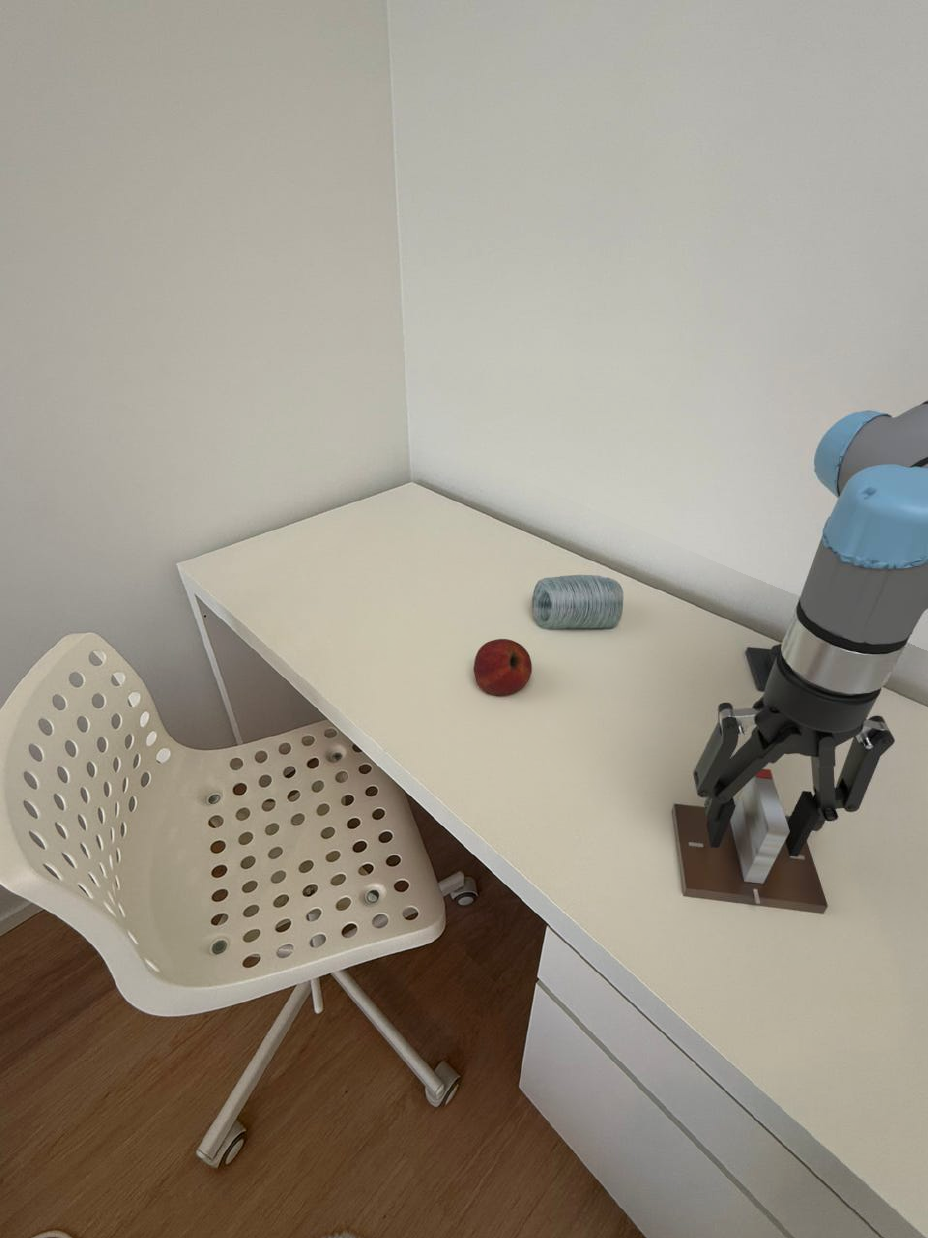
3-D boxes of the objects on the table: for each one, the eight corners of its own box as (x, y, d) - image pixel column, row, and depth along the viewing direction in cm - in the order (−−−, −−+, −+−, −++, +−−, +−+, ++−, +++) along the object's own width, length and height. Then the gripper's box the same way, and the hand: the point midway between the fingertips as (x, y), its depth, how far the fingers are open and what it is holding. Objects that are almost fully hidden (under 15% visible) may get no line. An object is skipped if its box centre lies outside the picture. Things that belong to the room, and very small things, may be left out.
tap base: (790, 826, 71) (798, 811, 69) (821, 926, 62) (831, 912, 60) (668, 812, 72) (673, 797, 70) (681, 908, 63) (687, 893, 62)
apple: (492, 716, 84) (494, 670, 79) (462, 681, 89) (462, 635, 84) (539, 695, 87) (543, 650, 82) (507, 663, 92) (509, 618, 87)
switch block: (816, 665, 92) (825, 643, 89) (833, 704, 85) (844, 682, 83) (743, 658, 93) (750, 637, 90) (755, 697, 87) (763, 675, 84)
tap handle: (763, 884, 62) (791, 830, 57) (744, 882, 63) (769, 827, 57) (747, 822, 68) (771, 768, 63) (729, 820, 68) (752, 766, 63)
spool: (527, 629, 93) (547, 562, 91) (521, 617, 102) (539, 556, 100) (618, 654, 94) (639, 588, 92) (603, 640, 103) (622, 580, 101)
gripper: (943, 645, 52) (842, 819, 66) (692, 626, 54) (646, 798, 68) (991, 711, 46) (869, 887, 60) (708, 687, 48) (653, 862, 62)
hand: (750, 839), depth 64 cm, fingers open, 7 cm apart
